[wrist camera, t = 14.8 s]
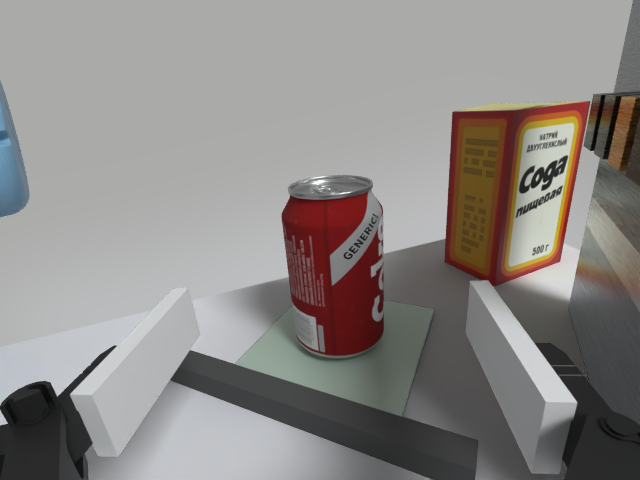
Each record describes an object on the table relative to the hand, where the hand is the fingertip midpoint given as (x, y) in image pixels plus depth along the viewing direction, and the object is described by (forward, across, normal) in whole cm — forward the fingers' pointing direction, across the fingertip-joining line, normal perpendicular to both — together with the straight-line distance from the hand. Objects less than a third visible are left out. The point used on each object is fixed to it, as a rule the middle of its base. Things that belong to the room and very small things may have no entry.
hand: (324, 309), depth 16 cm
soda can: (+8, 0, -8) cm, 12 cm away
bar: (+2, -3, -8) cm, 9 cm away
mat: (+8, 0, -8) cm, 12 cm away
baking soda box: (+22, +16, -9) cm, 29 cm away
